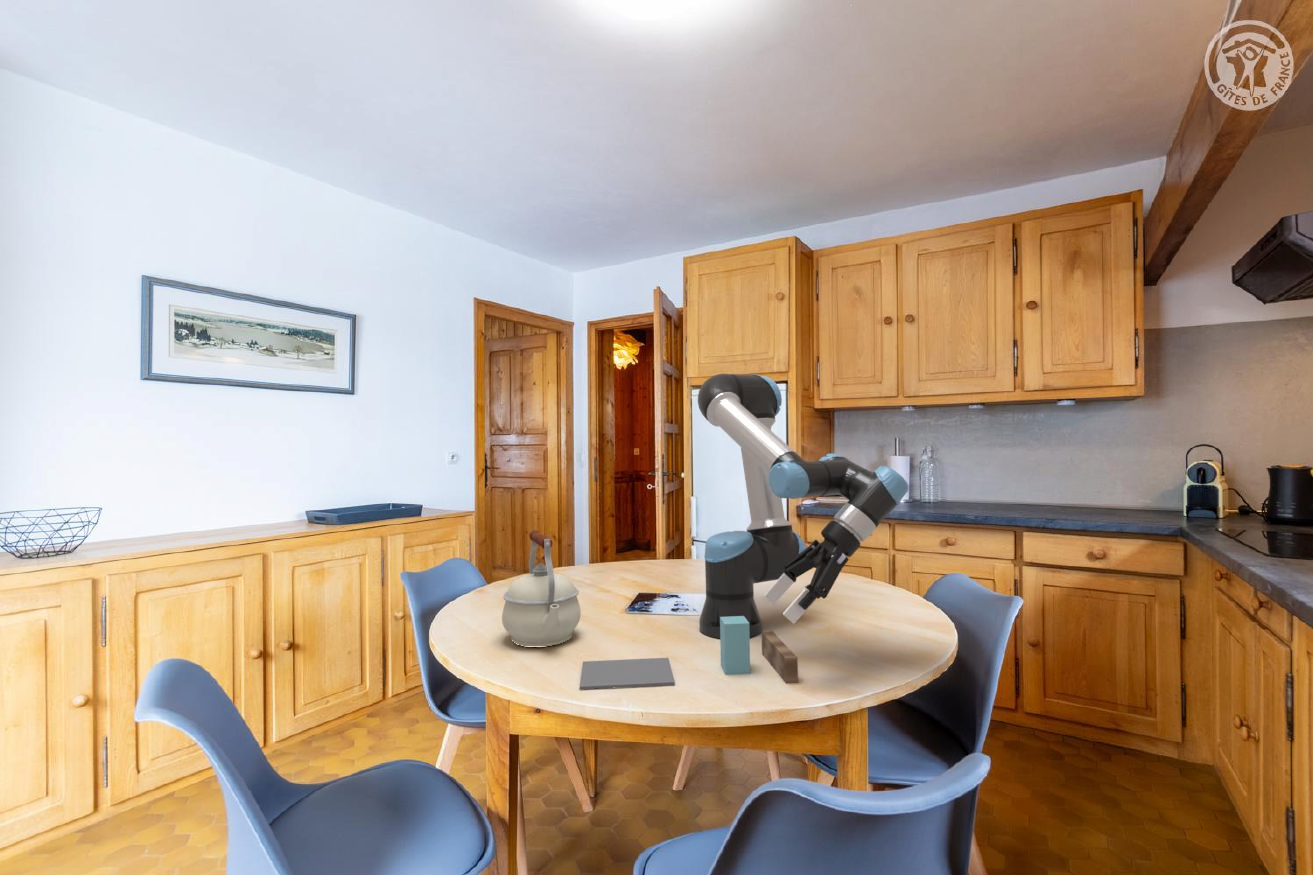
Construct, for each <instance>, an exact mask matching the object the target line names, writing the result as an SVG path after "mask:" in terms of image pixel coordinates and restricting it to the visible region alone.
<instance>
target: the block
mask: <svg viewBox="0 0 1313 875" xmlns="http://www.w3.org/2000/svg"><path fill="white" fill-rule="evenodd" d="M750 638H751V637H750V633H749V622H748V621H747V620H746V618H745V617H744V616H730V617H720V638H719V639H720V641H719V642H720V646H719V647H720V668H721V669H722V670H723V673H724V675H725V676H726V675H727V676H729V675H749V674H750V675H751V650H750V649H751V643H750V642H751V641H750Z"/></svg>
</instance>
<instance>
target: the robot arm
mask: <svg viewBox="0 0 1313 875" xmlns="http://www.w3.org/2000/svg"><path fill="white" fill-rule="evenodd" d="M697 404H698V409H699V411H700V412H701V415H702V416H703V418H705V420H707V421H708V422H709V424H710V425H712V426H713V427H719V428H721V430H723V432H725V434H727V435H728V436H729V437H730V438H731V439H732V441H734V442H735V443H736V444H737V445H738V446H739V447H740V452H741V459H742V465H743V472H744V473H743V475H744V480H745V486H746V493H747V500H748V506H749V513H750V521H751V522H750V524H749V525H748V527H747V528H746V531H745V530H734V531H724V532H718V533H716V534H713V535H711V536H710V537H708V539H707V540H706V541H705V545H704V546H705V548H704V555H703V556H704V563H705V564H704V566H705V570H704V571H705V572H704V573H705V599H704V603H703V606H702V610H701V613H700V617H699V619H698V620H699V621H698V622H699V623H698V625H699V631H700V632H701V634H703V635H705V636H709V637H711V638H717V639H720V617H730V616H744V617H745V618H746V620H747V621H748V622H749V633H750V638H752V637H756V636H758V635H759V634H762V632H763V631H762V628H763V627H762V625H763V624H762V619H761V616H760V612H759V610H758V607H757V604H756V600H755V597H754V595H755V594H754V591H755V590H754V584H758V583H765V582H773V581H775V582H774V583H773V584H772V585H771V587H770V588H769V589H768V590H767V591H766V592H765V593H764V595H763V597H764V598H765V599H767V600H768V601H769V602H770V603H771V604H772V605H776V603H777V602H778V601H779V599H781V597H782V596H783V595H784V594H785V593H786V592H787V591H788V590H789V588H790V587H791V586H792V585H793V584H794V583H796V582H797V579H798V577H801V576H802V575H804V574H805V573H807V572H808V571H810V570H813V569H814V568H815V571H814V573H813V576H812V578H811V580H810V583H809V584H807V585H805V588H803V590H802V591H801V592H800V593H799V595H798V596H796V598H795V599H794V600H793V601H792V602H791V603H790V605H789V606H788V607H786V609H785V610H784V611H783V613H782V615H783V616H784V617H785V618H786V619H788V621H790V622H791V623H792V624H793V625H795V623H796V622H797V621H798V620H799V619H800V618H801V617H802V615H804V613H806V611H807V610H808V609H809V608H810V607H811V605H812V604H813V603H814V602H815V601H816V600H817V599H818V600H819V599H820V598H822V599H823V600H824V599H826V598H827V596H828V595H829V594H830V591H831V589H832V588H833V587H834V584H835V583H836V581H837V579H838V577H839V575H840V573H841V571H842V570H843V568H844V567H845V565H846V564H847V563H848V562H849V558H851V557H852V556H853V555H854V554H855V553H856V552H857V550H858V549H859V548H860V547H861V543H863V542H865V541H866V540H867V539H868V538H869V537H871V536H873V532H874V531H875V529H877V527H878V526H879V525H880V524H881V522H883V520H884V519H886V517H887V516H888V515H889V514H890V513H891V512H893V510H894V509H895V508H896V507H897V506H899V504H900V502H901V501H902V499H903V498H904V497H905V495H906V494H907V493H908V491H909V484H908V483H907V481H906V478H904V477H903V476H902V475H901V473H899V472H898V471H896V470H895V469H893V468H891V467H889V466H887V465H886V466H885V465H879V467H877V469H874V472H872V471H870V470H869V469H866V468H864V467H862V466H861V465H858V464H856V463H855V462H853V461H851V460H849V459H848V458H846V456H842V455H839V454H836V453H827V454H826V455H825V456H822V457H820V459H819V460H805V459H804V458H803V457H802V456H801V455H799V454H798V453H797V451H796V452H795V450H794V449H792V448H791V447H790V446H789V445H788V444H787V443H786V442H784V441H783V440H782V439H781V438H780V437H779V436H778V435H777V434H775V433H774V432H773V431H772V427H773V425H775V423H776V416H777V415H778V414H779V412H780V411H781V408H780V407H781V406H782V394H781V391H780V387H779V386H778V384H777V383H776V381H774V380H773V379H772V378H770V377H769V376H766V375H759V374H753V373H752V374H741V373H739V374H737V373H735V374H734V373H733V374H732V373H718V374H715V375H712V376H710V377H709V378H707V379H706V380H705V381H704V382H703V383H702V385H701V386H700V388H699V390H698V395H697ZM836 495H837V496H842V497H843V498H845V499H846V500H848V501H847V502H846V503H844V504H843V506H842V507H841V508H840V510H839V511H838V512H836V514H835V515H834V516H833V518H834V519H833V520H830V521H829V522H828V524H826V525H825V527H824V528H823V529H822V530H821V532H820V534H821V537H822V538H824V539H823V541H822V542H820V541H818V539H815V540H813V542H811V544H810V545H809V546H807V547H806V545H805V542H804V540H803V538H801V535H800V534H799V533H797V532H795V531H793V526H792V523H791V522H790V521H788V520H787V519H786V517H785V511H784V505H783V499H792V500H797V499H801V498H802V499H803V498H814V497H824V496H836Z"/></svg>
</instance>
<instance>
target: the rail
mask: <svg viewBox="0 0 1313 875" xmlns="http://www.w3.org/2000/svg"><path fill="white" fill-rule="evenodd" d="M761 654H762V656H763V658H765V660H766V661H767V662H768V664H770V665H771V667H772V668H773V670H775V672H776V673H777V674H778V676H779V677H780V678H781V679H782V681H783V682H784V683H785V684H798V683H799V670H798V669H799V668H798V667H799V663H798V662H799V661H798V660H799V659H798V656H797V655H795V653H794V651H792V650H791V649H790V648H789V646H787V645H786V644H785V643H784V642H783V641H782V640H781V638H780V637H779V636H777V634H776V633H775V632H774V631H773V630H770V631H767V630H766V631H761Z"/></svg>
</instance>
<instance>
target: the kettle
mask: <svg viewBox="0 0 1313 875" xmlns="http://www.w3.org/2000/svg"><path fill="white" fill-rule="evenodd" d="M529 539H530V541H531V549H530V555H529V562H528V563H529V564H528V570H529V571H528V572H529V574H526V575H523V576H521V577H519V578H517V579H515V580H513V582H512V583H511V584H510V585H509V587H508V589H507V591H506V592H505V593H504V594H503V596H502V597H503V600H505V602H504V605H503V609H502V614H501V615H502V616H501V621H502V626H503V628H504V629H505V631H506V633H508V634H509V635H510V636H511V641H512V640H513V641H514V642H515V643H517V644H519V645H523V646H552V645H556V644H560V643H562V644H564V643H563V642H565V641H566V642H568V641H569V640H571V638H573V637H572V636H573V631H574V630H575V629H576V627H577V626H578V624H579V622H580V619H581V607H580V603H579V600H578V595H579V594H580V593H579V592H580V591H579V589H578V588H577V587H575V585H574V583H573V581H572V580H571V579H570V578H568V577H567V576H565V575H562V574H559V573H555V572H554V568H553V562H552V553H551V548H552V546H553V540H552V539H551V538H550V537H547V536H546V535H544V534H543V533H541V532H539V530H532V531H531V532H530V533H529ZM538 546H539V547H541V548H542V549H543V550H544V561H545V562H544V563H545V564H544V563H541V562H540V563H538V564H537V565H535V564H536V563H535V562H536V555H537V550H538V549H537V548H538ZM567 640H568V641H567ZM566 642H565V643H566ZM560 645H561V644H560ZM556 646H557V645H556ZM552 647H553V646H552Z"/></svg>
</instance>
